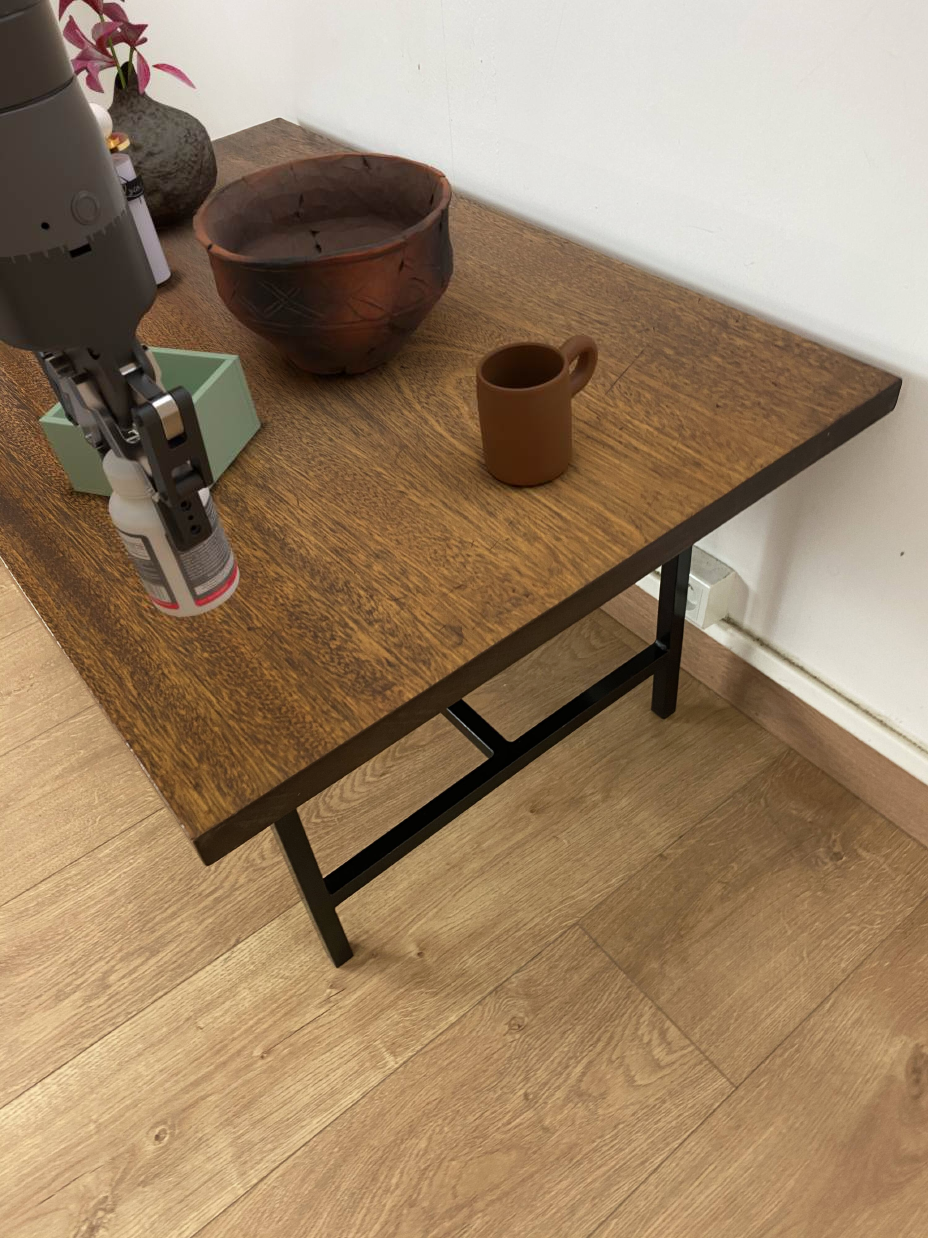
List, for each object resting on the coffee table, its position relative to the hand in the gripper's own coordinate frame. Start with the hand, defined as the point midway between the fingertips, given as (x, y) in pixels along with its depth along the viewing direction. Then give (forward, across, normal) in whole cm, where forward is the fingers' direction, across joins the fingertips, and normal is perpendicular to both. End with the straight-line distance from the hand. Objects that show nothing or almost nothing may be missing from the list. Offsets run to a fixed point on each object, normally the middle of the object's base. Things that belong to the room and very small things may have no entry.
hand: (166, 517), depth 50 cm
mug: (+17, -4, +34) cm, 38 cm away
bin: (+17, -30, +11) cm, 37 cm away
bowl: (+17, -33, +35) cm, 51 cm away
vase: (+17, -81, +40) cm, 92 cm away
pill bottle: (+6, 0, 0) cm, 6 cm away
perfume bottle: (+17, -64, +28) cm, 72 cm away
